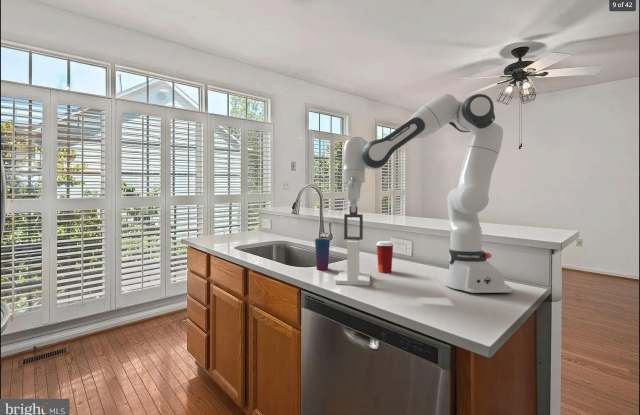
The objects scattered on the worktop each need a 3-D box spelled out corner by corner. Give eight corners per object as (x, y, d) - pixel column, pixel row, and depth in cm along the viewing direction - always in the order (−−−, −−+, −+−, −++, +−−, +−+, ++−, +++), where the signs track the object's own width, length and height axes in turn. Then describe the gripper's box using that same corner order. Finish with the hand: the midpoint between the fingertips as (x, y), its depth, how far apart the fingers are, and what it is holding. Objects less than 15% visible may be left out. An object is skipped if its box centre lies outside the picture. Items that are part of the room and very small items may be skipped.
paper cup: (395, 272, 148) (395, 241, 148) (390, 275, 141) (390, 243, 141) (379, 270, 152) (379, 240, 152) (373, 273, 145) (373, 242, 145)
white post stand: (369, 276, 140) (370, 237, 140) (369, 285, 124) (369, 242, 124) (339, 275, 142) (339, 237, 142) (335, 284, 126) (335, 241, 126)
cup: (328, 273, 145) (328, 240, 145) (313, 273, 146) (313, 239, 146) (330, 270, 152) (331, 238, 152) (316, 270, 153) (316, 238, 153)
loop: (362, 238, 134) (362, 206, 134) (362, 239, 130) (362, 206, 130) (344, 238, 135) (344, 206, 135) (343, 239, 131) (344, 206, 131)
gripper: (360, 175, 122) (360, 212, 122) (362, 179, 142) (362, 211, 142) (344, 175, 123) (343, 212, 123) (347, 180, 143) (347, 211, 143)
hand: (353, 212), depth 133 cm, fingers closed on loop, 2 cm apart
